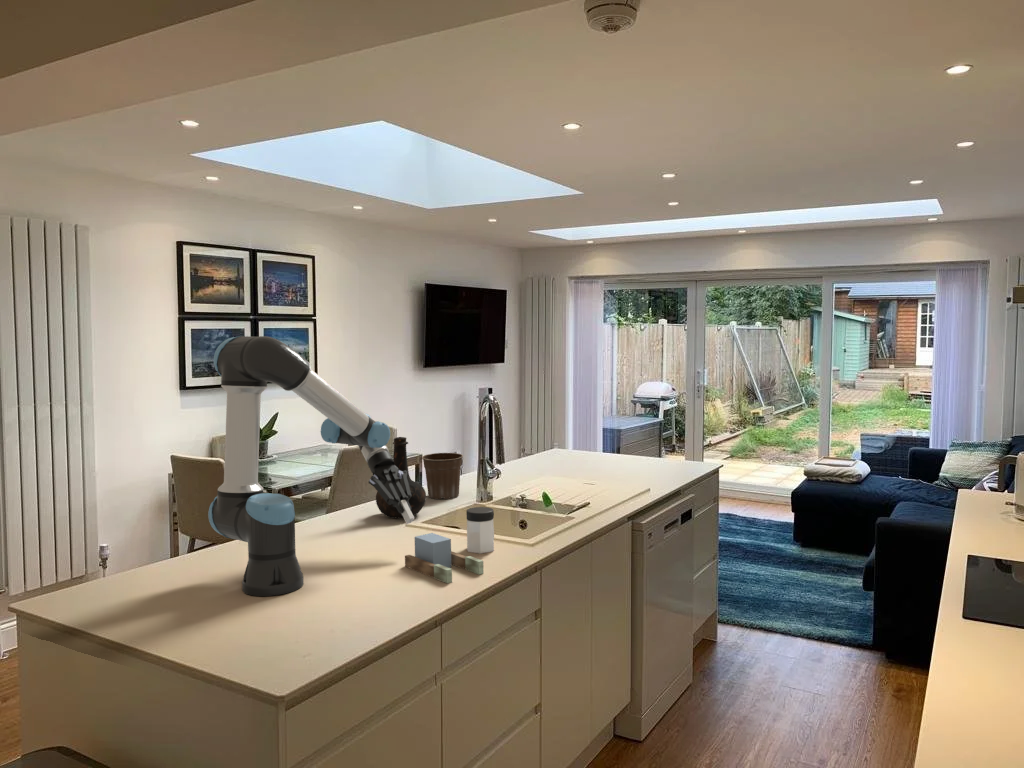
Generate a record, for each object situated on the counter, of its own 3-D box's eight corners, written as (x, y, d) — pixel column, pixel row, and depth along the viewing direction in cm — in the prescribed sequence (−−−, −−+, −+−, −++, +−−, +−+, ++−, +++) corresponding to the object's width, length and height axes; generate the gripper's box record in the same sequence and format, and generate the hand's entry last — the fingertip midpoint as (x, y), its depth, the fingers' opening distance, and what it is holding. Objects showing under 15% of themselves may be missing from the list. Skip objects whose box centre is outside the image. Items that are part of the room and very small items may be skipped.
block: (415, 564, 215) (414, 536, 215) (432, 560, 219) (432, 532, 219) (433, 572, 209) (433, 543, 208) (451, 567, 212) (450, 539, 212)
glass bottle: (386, 524, 260) (384, 442, 258) (369, 513, 276) (367, 436, 274) (434, 517, 269) (433, 438, 267) (415, 507, 285) (413, 432, 283)
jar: (494, 553, 225) (493, 513, 224) (466, 554, 224) (466, 513, 224) (494, 544, 234) (493, 506, 233) (467, 545, 233) (466, 506, 233)
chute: (405, 566, 214) (404, 553, 213) (440, 557, 222) (440, 545, 221) (447, 583, 199) (447, 570, 198) (483, 573, 206) (483, 560, 206)
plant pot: (446, 502, 292) (446, 460, 291) (414, 498, 301) (413, 457, 300) (472, 494, 306) (471, 454, 304) (440, 490, 314) (439, 451, 313)
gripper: (391, 461, 241) (424, 523, 230) (355, 467, 233) (386, 532, 222) (400, 447, 237) (433, 509, 226) (363, 452, 228) (396, 517, 217)
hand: (410, 520), depth 224 cm, fingers closed
